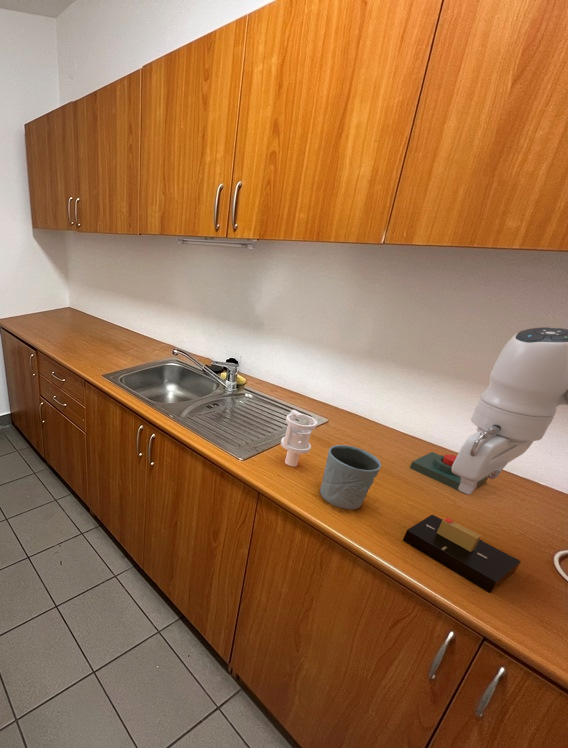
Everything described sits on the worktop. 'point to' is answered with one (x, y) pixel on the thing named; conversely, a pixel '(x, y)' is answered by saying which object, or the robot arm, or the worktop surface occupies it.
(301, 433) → the strainer
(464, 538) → the lock knob
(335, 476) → the grey plant pot
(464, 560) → the lock plate
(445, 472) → the switch box
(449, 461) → the button
